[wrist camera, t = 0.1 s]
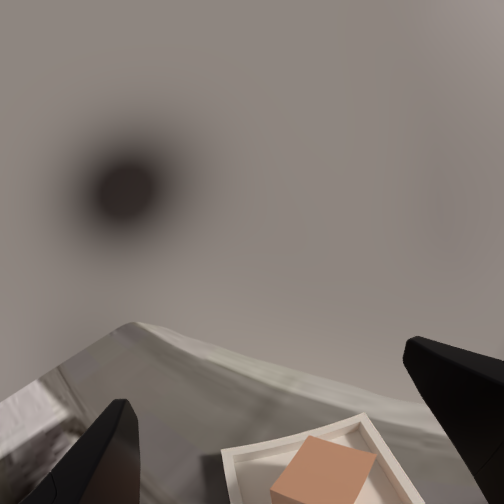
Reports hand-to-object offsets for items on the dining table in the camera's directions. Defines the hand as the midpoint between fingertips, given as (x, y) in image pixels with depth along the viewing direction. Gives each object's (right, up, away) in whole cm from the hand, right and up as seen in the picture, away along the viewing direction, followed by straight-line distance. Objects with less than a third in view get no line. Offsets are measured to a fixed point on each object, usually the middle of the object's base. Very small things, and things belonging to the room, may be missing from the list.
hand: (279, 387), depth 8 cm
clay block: (+4, -14, +7) cm, 16 cm away
